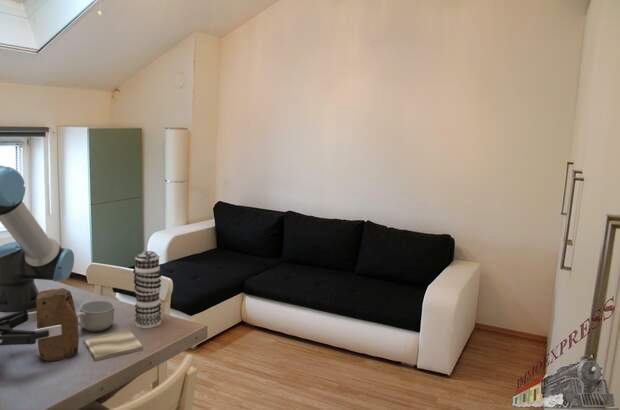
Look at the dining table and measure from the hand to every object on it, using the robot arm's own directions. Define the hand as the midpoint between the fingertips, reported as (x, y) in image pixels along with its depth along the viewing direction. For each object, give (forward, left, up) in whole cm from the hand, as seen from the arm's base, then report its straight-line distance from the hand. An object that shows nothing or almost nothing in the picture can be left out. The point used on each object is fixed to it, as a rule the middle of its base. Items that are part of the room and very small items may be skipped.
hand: (56, 321), depth 152 cm
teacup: (-14, +13, -11) cm, 23 cm away
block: (0, 0, -11) cm, 11 cm away
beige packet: (+2, +15, -11) cm, 19 cm away
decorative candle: (-10, +30, -11) cm, 34 cm away
